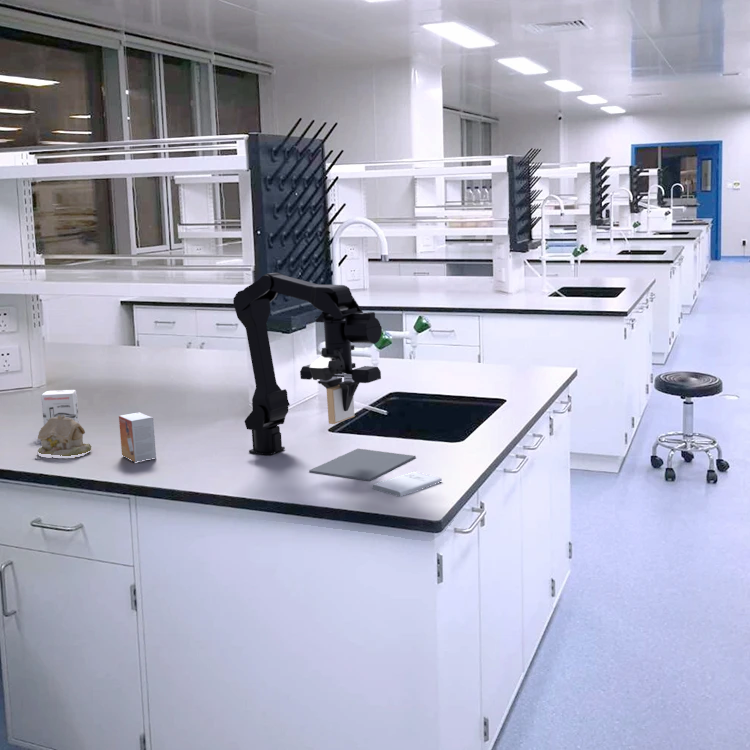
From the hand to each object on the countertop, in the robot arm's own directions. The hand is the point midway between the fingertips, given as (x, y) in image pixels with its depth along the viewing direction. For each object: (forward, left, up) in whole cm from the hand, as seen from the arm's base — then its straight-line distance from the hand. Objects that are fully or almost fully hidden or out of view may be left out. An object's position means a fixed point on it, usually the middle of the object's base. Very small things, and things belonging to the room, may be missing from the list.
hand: (342, 410), depth 203 cm
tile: (0, 0, -2) cm, 2 cm away
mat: (+4, +1, -13) cm, 13 cm away
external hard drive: (+21, -8, -13) cm, 26 cm away
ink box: (-88, -8, -13) cm, 89 cm away
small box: (-49, -17, -13) cm, 53 cm away
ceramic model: (-70, -21, -13) cm, 75 cm away
